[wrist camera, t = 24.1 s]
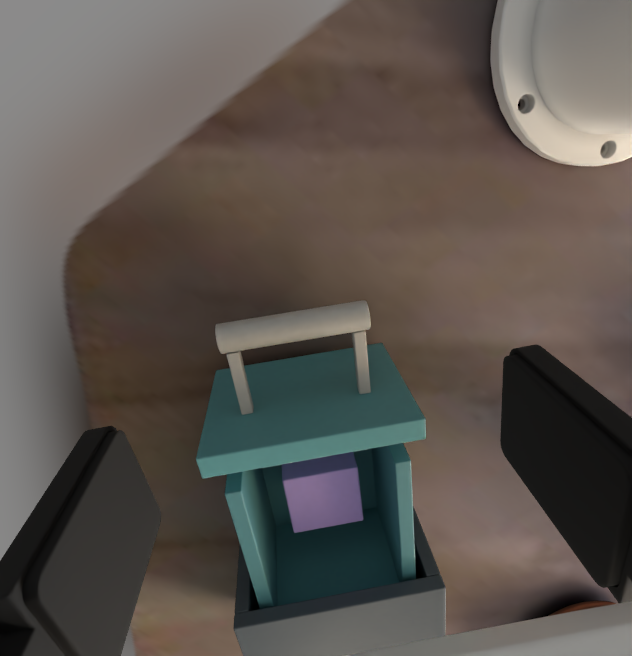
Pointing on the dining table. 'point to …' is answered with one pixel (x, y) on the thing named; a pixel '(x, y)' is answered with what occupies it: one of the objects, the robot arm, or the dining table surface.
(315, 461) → the lavender rounded cube
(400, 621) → the grey drawer cabinet
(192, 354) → the dining table surface
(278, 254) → the dining table surface
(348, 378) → the teal drawer
